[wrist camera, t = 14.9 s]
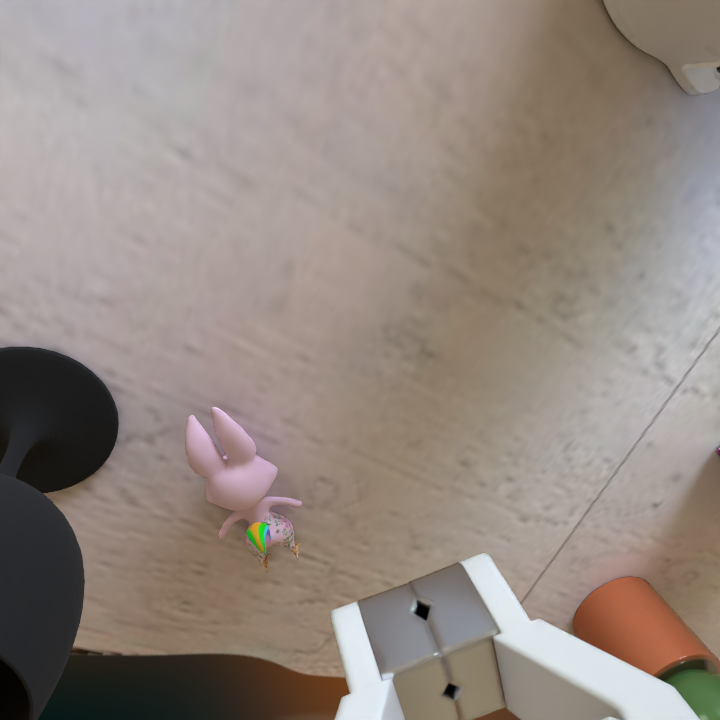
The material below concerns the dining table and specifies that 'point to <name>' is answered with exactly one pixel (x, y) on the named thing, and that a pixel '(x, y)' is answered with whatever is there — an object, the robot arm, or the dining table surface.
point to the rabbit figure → (240, 483)
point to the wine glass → (43, 515)
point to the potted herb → (651, 640)
